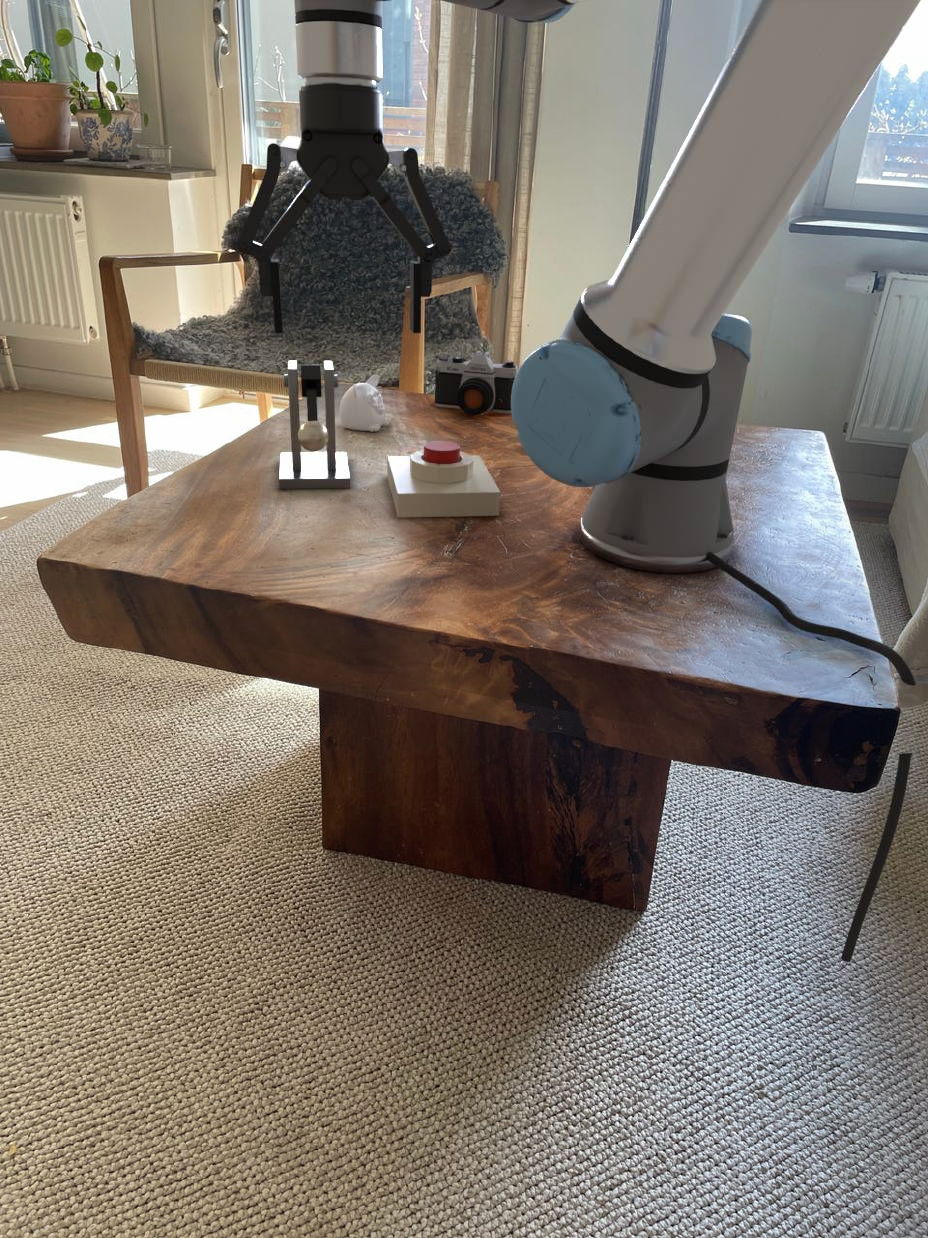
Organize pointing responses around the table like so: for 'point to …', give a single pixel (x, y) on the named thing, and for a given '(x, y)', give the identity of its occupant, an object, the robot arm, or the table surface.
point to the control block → (441, 487)
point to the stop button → (442, 452)
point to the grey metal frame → (313, 466)
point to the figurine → (363, 407)
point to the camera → (474, 384)
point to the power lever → (312, 410)
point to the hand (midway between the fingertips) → (348, 331)
